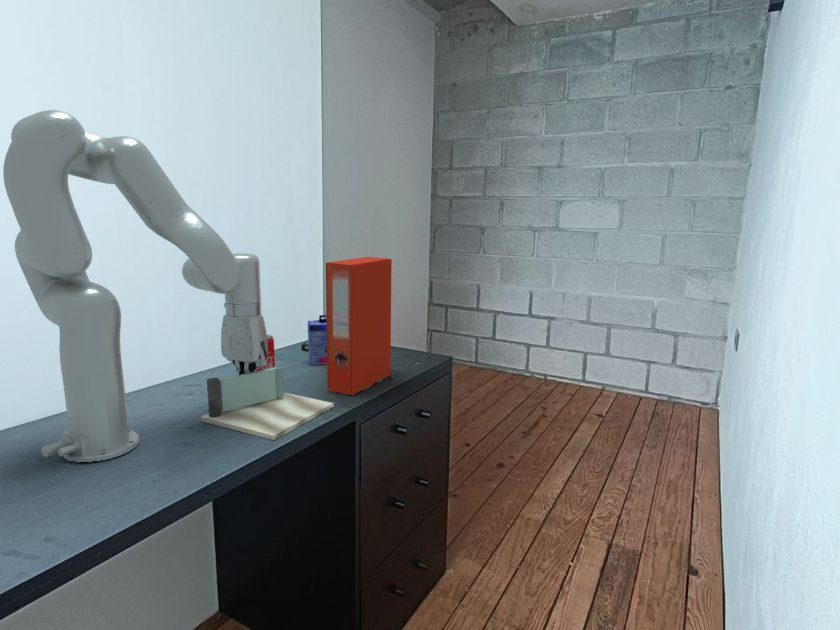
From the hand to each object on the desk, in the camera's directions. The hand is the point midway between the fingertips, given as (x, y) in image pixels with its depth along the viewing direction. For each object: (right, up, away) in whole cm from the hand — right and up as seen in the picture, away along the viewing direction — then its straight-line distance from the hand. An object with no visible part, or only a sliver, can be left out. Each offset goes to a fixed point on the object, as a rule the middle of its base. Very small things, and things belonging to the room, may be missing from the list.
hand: (247, 387), depth 124 cm
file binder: (+24, -1, +16) cm, 29 cm away
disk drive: (+10, +6, +51) cm, 53 cm away
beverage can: (-1, -1, +17) cm, 17 cm away
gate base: (+6, -5, -4) cm, 9 cm away
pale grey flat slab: (+2, -3, -2) cm, 4 cm away
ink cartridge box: (+12, +3, +35) cm, 37 cm away
